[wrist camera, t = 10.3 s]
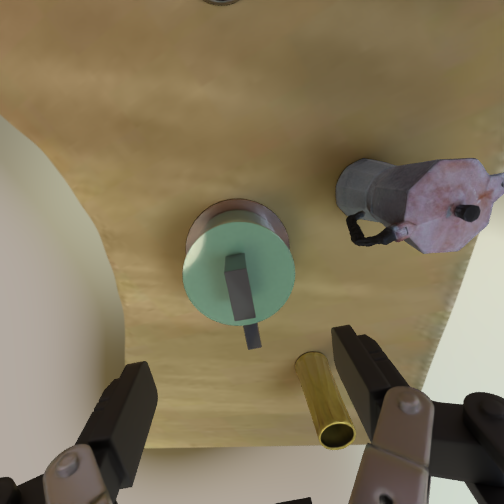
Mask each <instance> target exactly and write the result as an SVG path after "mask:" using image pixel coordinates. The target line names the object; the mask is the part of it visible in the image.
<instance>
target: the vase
mask: <svg viewBox="0 0 504 504" xmlns="http://www.w3.org/2000/svg"><path fill="white" fill-rule="evenodd" d="M295 370H296V373H297V375H298V378H299V381H300V383H301V387H302V389H303V392H304V395H305V398H306V401H307V404H308V407H309V410H310V413H311V416H312V419H313V423H314V426H315V429H316V432H317V436H318V439H319V442H320V444H321V445H322V446H324V447H325V448H326V449H330V450H339V449H343V448H346V447H347V446H349V445H350V444H351V443H352V442H353V441H354V439H355V437H356V431H355V428H354V425H353V423H352V420H351V418H350V416H349V414H348V412H347V409H346V407H345V405H344V403H343V400H342V398H341V396H340V393H339V391H338V388H337V385H336V383H335V380H334V378H333V375H332V373H331V370H330V368H329V364H328V360H327V358H326V357H325V356H324V355H323V354H321V353H317V352H309V353H306V354H304V355H302V356H301V357H300V358H299V359H298V360H297V362H296V365H295Z"/></svg>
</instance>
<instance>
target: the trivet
mask: <svg viewBox="0 0 504 504" xmlns="http://www.w3.org/2000/svg"><path fill="white" fill-rule="evenodd" d="M232 210H244V211H249V212H253V213H255V214H258V215H259V216H261V217H263V218H264V219H265V220H267V221H268V222H269V223H270V224H271V225H272V227H273V228H274V230H275V231H276V233H277V235H278V236H279V237H280V238H281V239H282V240H283V241H284V243H285V244H286V245H287V247H288V249H289V250H290V246H289V239H288V235H287V232H286V229H285V227H284V225H283V223H282V222H281V221H280V219H279V218H278V217H277V216H276V215H275V214H274V213H273V212H272V211H271V210H270V209H268V208H267V207H265V206H264V205H262V204H259V203H257V202H254V201H251V200H245V199H230V200H225V201H221V202H219V203H216V204H214V205H212V206H210V207H209V208H207V209H206V210H205V211H203V212H202V213H201V214H200V215H199V216H198V217H197V219H196V220H195V221H194V223H193V225H192V226H191V228H190V231H189V233H188V236H187V241H186V255H187V253H188V251H189V249H190V247H191V246H192V244H193V243H194V242H195V240H196V239H197V238H198V235H199V233H200V231H201V230H202V228H203V227H204V226H205V224H206V223H207V222H208V221H209V220H211V219H212V218H213V217H215V216H217V215H219V214H221V213H223V212H227V211H232Z"/></svg>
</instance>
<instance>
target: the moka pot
mask: <svg viewBox="0 0 504 504" xmlns="http://www.w3.org/2000/svg"><path fill="white" fill-rule="evenodd" d="M503 194H504V173H499V174H494V175H489V174H488V173H487V172H486V170H485V168H484V167H483V165H482V164H481V163H480V162H479V160H478V159H475V158H463V159H440V160H433V161H426V162H420V163H414V164H407V165H401V166H396V165H392V164H389V163H386V162H382V161H377V160H371V159H365V158H363V159H361V160H358V161H356V162H354V163H353V164H351V165H349V166H348V167H346V169H345V170H344V171H343V173H342V174H341V176H340V178H339V180H338V182H337V185H336V204H337V205H338V207H339V208H340V209H341V210H342V211H343V212H344V213H345V214H346V215H347V216H348V217H347V219H346V222H347V226H348V229H349V231H350V235H351V240H352V242H353V243H354V244H356V245H358V246H372V245H375V244H384V245H387V244H389V243H391V242H392V241H396V242H400V241H403V240H404V241H405V242H407V243H408V244H410V245H411V246H413V247H414V248H416V249H417V250H418V251H420V252H422V253H423V254H425V253H440V252H452V251H459V250H460V249H461V248H463V247H464V246H465V245H466V244H467V243H468V242H469V241H470V240H471V239H472V238H473V237H475V236H476V235H477V234H478V233H479V232H480V231H481V230H483V229H484V228H485V227H486V226H487V225H488V224H489V219H490V215H491V211H492V207H493V203H494V202H495V201H496V200H497V199H498V198H499V197H500V196H502V195H503ZM358 219H363V220H369V221H374V222H380V223H382V224H383V225H384V226H385V227H386V228H385V229H384V230H383V231H382V232H380V233H379V234H378V235H376V236H373V237H367V238H365V237H364V234H363V232H362V231H361V229H360V226H359V225H358V224H357V222H356V221H357V220H358Z"/></svg>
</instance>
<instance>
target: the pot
mask: <svg viewBox="0 0 504 504" xmlns="http://www.w3.org/2000/svg"><path fill="white" fill-rule="evenodd" d="M182 274H183V283H184V288H185V291H186V293H187V295H188V297H189V299H190V301H191V302H192V304H193V305H194V306H195V307H196V308H197V309H198V310H199V311H200V312H201V313H202V314H203V315H205V316H207V317H208V318H210V319H212V320H214V321H216V322H219V323H222V324H227V325H234V326H243V328H244V333H245V337H246V342H247V347H248V350H250V349H255V348H261V347H262V345H261V339H260V334H259V328H258V323H257V322H260V321H263V320H265V319H267V318H269V317H270V316H272V315H273V314H275V313H276V312H277V311H278V310H279V309H280V308H281V307H282V306H283V305H284V304H285V302H286V301H287V299H288V298H289V296H290V294H291V291H292V289H293V286H294V281H295V265H294V260H293V258H292V255H291V252H290V251H289V249H288V247H287V245H286V244H285V243H284V241H283V240H282V239H281V238H280V237H279V236H278V235H277V233H276V231H275V230H274V228H273V227H272V225H271V224H270V223H269V222H268V221H267V220H265V219H264V218H263V217H261V216H259V215H258V214H255V213H253V212H249V211H244V210H232V211H227V212H223V213H221V214H219V215H217V216H215V217H213V218H212V219H211V220H209V221H208V222H207V223H206V224H205V226H204V227H203V228H202V230H201V231H200V233H199V235H198V238H197V239H196V240H195V242H194V243H193V244H192V246H191V247H190V249H189V251H188V253H187V255H186V258H185V261H184V265H183V273H182Z"/></svg>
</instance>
